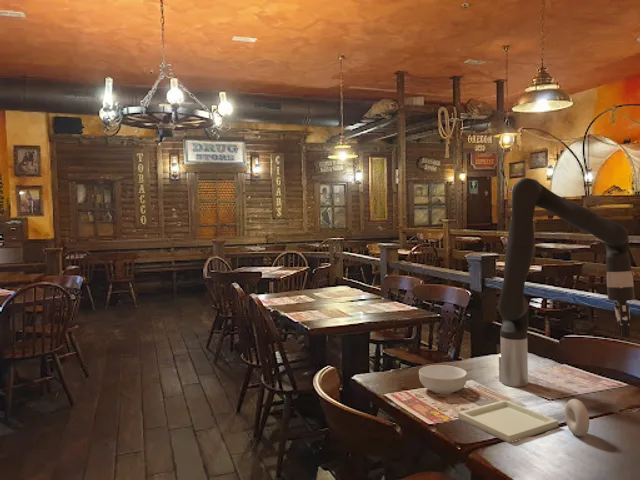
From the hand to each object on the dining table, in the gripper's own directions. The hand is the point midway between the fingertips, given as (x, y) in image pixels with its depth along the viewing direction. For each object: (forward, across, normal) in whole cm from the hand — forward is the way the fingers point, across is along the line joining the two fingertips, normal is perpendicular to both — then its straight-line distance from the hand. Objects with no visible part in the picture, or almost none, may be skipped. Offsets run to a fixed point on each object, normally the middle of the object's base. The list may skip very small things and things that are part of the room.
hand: (624, 335), depth 166 cm
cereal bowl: (+19, +7, -58) cm, 62 cm away
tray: (+22, +29, -35) cm, 51 cm away
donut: (+24, +31, -16) cm, 42 cm away
